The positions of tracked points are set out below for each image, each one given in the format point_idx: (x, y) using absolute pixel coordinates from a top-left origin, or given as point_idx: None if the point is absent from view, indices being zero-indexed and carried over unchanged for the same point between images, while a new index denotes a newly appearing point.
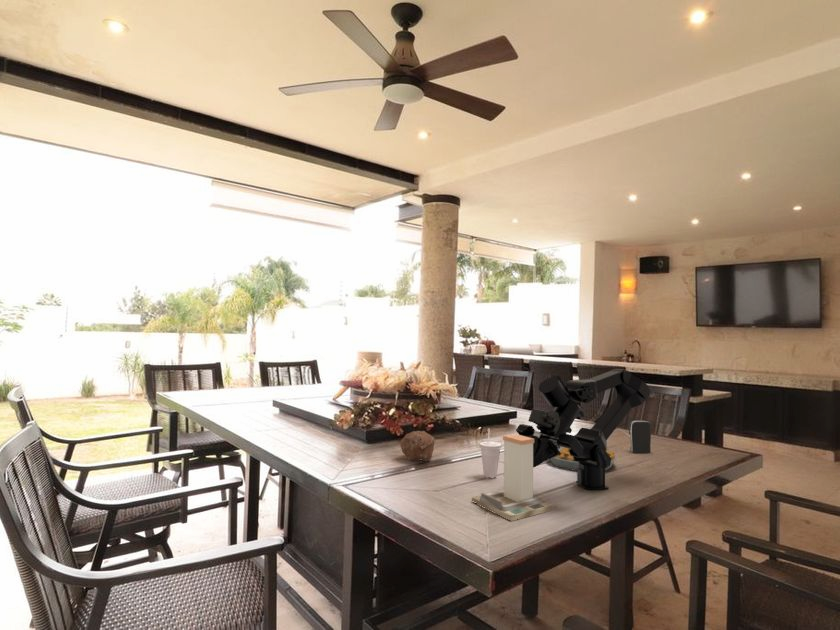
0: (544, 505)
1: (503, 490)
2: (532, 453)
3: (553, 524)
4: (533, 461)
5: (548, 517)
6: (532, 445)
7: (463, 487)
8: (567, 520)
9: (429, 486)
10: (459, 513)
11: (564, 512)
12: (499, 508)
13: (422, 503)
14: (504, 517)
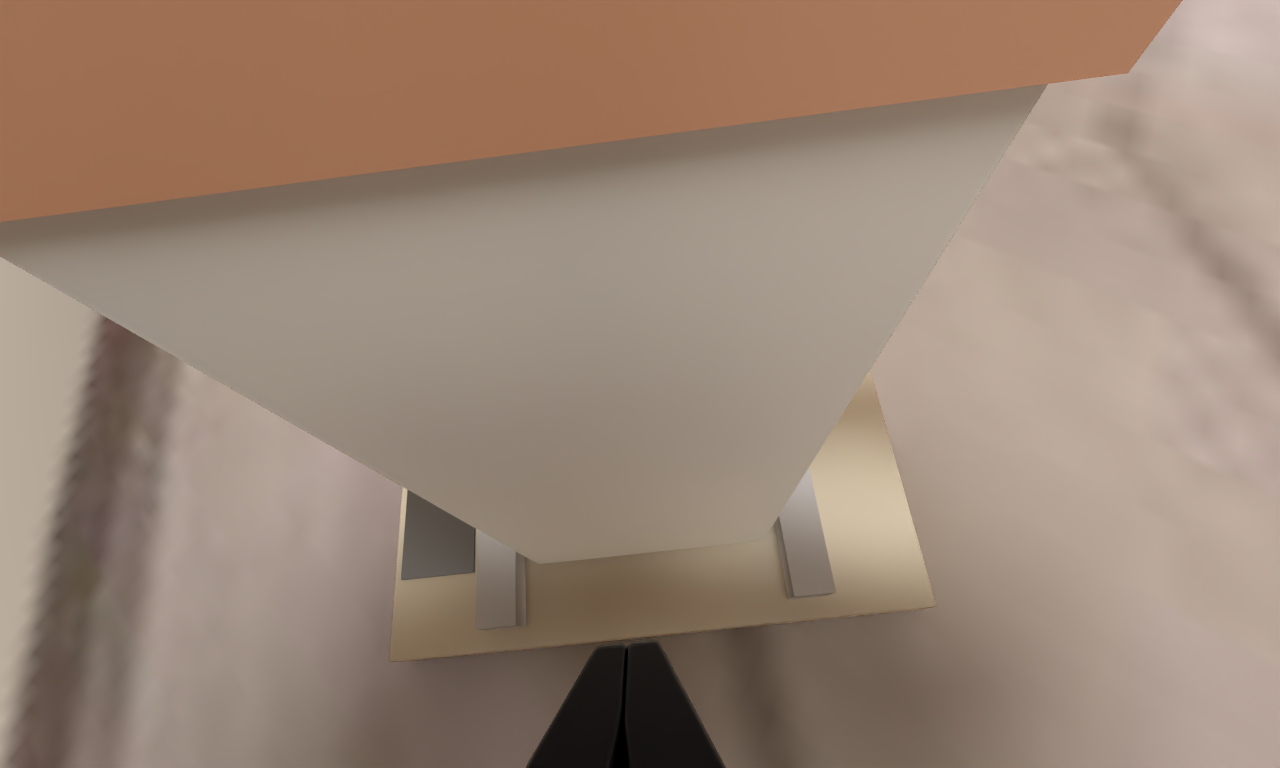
0: (421, 597)
1: (906, 506)
2: (249, 377)
3: (240, 475)
4: (586, 690)
5: (334, 530)
6: (44, 250)
7: (1176, 317)
8: (209, 626)
9: (1229, 122)
10: None
11: (316, 744)
12: None
13: None
14: None
